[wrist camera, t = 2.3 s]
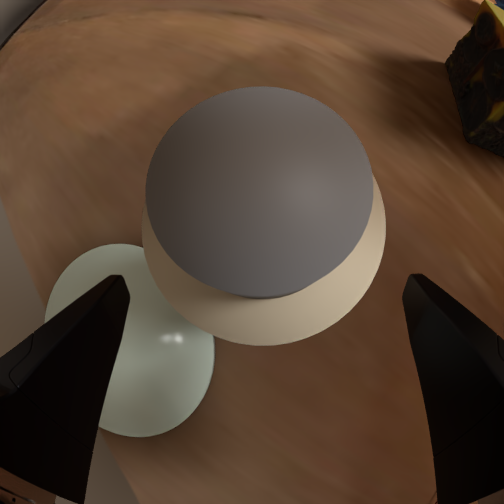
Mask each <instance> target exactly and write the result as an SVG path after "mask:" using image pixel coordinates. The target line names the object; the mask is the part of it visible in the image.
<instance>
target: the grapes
mask: <svg viewBox="0 0 504 504" xmlns="http://www.w3.org/2000/svg"><path fill="white" fill-rule="evenodd" d="M495 2H496V3H497V4H494V5H496V6H498V7H499V8H501V9H503V10H504V0H495Z"/></svg>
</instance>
